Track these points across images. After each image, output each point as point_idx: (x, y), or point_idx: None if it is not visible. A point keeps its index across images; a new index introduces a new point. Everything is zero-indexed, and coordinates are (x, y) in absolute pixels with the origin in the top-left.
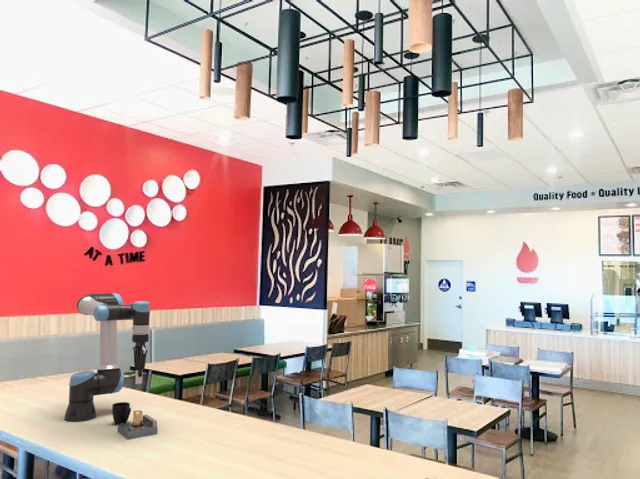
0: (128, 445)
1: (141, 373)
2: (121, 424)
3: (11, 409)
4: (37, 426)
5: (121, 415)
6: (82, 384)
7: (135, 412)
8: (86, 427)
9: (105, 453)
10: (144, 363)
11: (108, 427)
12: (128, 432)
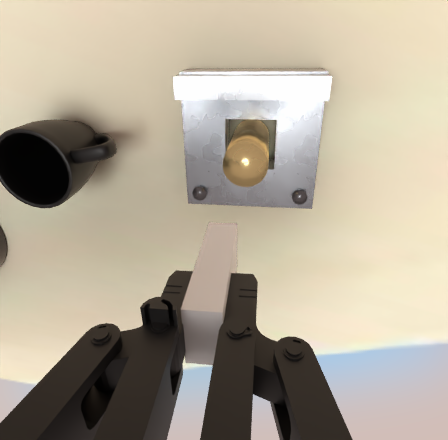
0: (380, 215)
1: (255, 303)
2: (206, 197)
3: None
4: (23, 335)
5: (92, 164)
6: None
7: (258, 182)
8: (87, 250)
9: (400, 290)
10: (343, 432)
11: (119, 197)
12: (311, 202)
